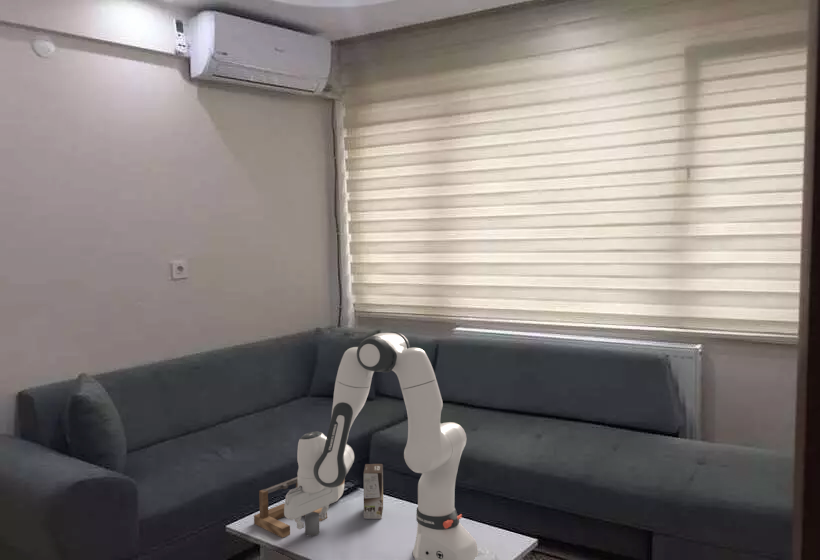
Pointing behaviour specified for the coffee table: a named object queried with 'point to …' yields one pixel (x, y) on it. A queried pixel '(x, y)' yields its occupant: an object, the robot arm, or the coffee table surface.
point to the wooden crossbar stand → (275, 511)
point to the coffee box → (373, 491)
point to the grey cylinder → (312, 524)
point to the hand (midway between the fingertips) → (311, 523)
